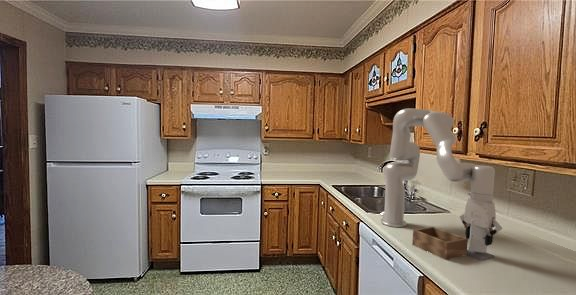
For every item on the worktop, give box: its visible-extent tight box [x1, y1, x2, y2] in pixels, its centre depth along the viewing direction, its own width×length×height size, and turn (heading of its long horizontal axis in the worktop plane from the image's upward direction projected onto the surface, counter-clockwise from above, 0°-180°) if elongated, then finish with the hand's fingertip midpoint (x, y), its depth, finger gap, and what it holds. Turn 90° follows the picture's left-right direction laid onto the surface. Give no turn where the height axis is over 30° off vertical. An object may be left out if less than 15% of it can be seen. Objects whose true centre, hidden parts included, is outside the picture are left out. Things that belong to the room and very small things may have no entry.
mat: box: [466, 248, 495, 261], centre depth 124 cm, size 8×8×1 cm
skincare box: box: [468, 219, 488, 253], centre depth 123 cm, size 6×4×12 cm
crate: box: [412, 226, 469, 261], centre depth 127 cm, size 16×12×6 cm
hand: (478, 241), depth 123 cm, fingers closed on skincare box, 7 cm apart
